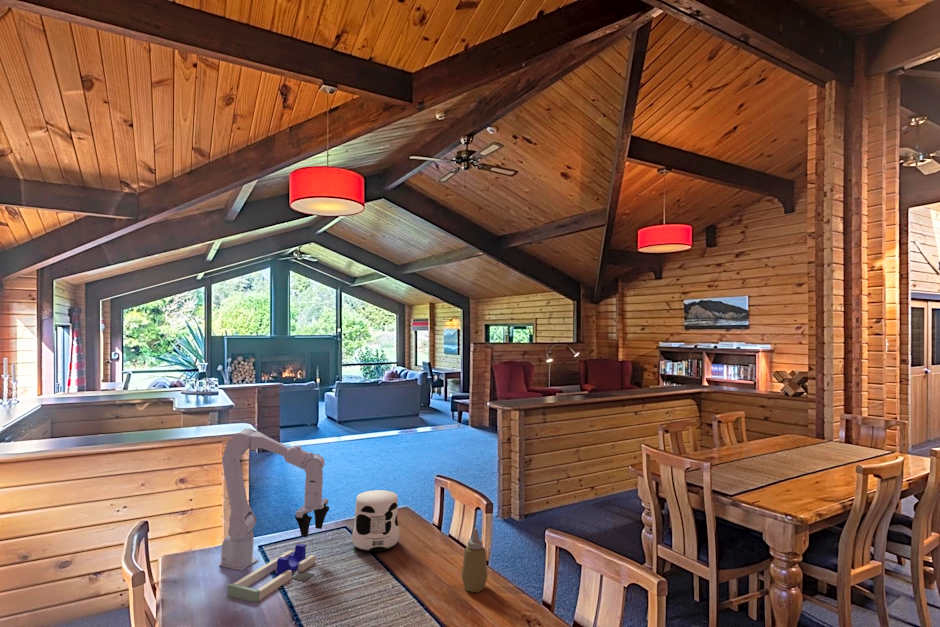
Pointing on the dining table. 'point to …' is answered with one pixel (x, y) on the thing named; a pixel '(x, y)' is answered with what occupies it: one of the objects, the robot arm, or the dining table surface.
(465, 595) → the dining table surface
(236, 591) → the lane
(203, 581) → the dining table surface
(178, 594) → the dining table surface
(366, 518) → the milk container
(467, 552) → the squeeze bottle
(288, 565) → the cable clip
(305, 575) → the mat
